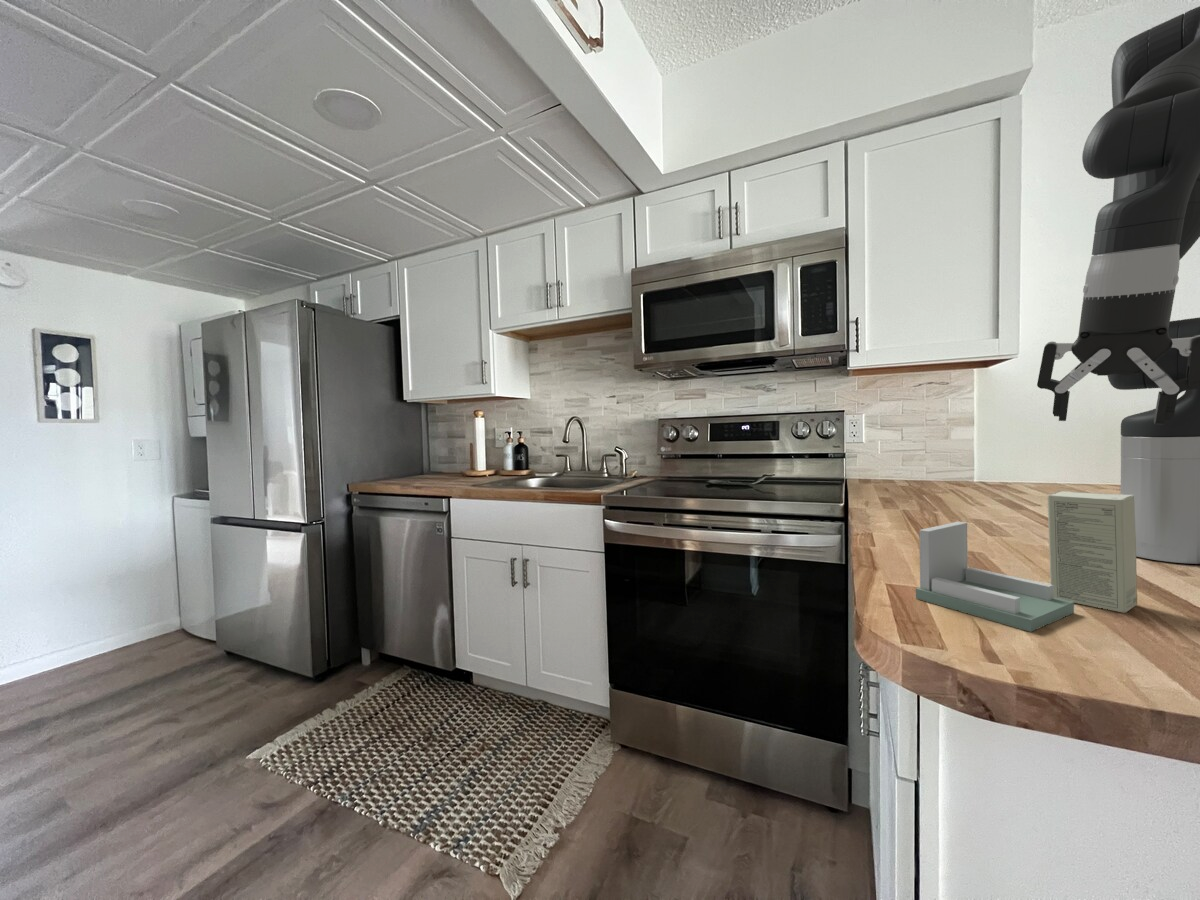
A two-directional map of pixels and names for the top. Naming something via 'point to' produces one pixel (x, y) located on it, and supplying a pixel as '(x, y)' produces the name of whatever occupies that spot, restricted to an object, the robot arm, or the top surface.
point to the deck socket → (981, 584)
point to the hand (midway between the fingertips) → (1107, 421)
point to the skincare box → (1093, 549)
